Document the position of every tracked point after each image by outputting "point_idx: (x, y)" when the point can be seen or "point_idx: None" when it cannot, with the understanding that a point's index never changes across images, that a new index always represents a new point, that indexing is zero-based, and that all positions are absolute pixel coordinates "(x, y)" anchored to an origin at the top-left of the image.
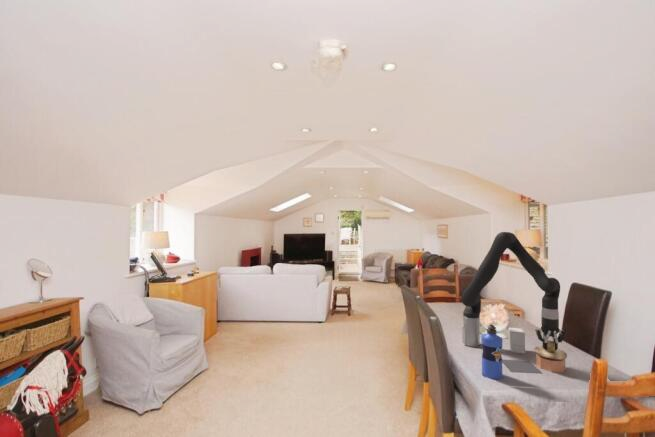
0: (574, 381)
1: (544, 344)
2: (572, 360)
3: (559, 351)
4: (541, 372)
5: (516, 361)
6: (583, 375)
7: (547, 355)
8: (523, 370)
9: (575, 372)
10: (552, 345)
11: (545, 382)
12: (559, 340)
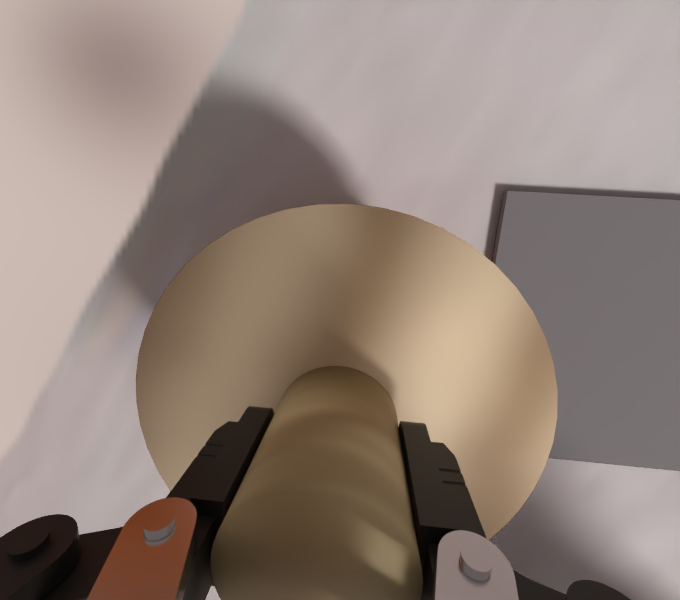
0: (290, 66)
1: (462, 509)
2: (100, 469)
3: (201, 420)
4: (506, 217)
5: (592, 436)
6: (147, 205)
7: (488, 260)
8: (664, 249)
9: (183, 260)
10: (320, 445)
11: (599, 5)
12: (46, 580)
